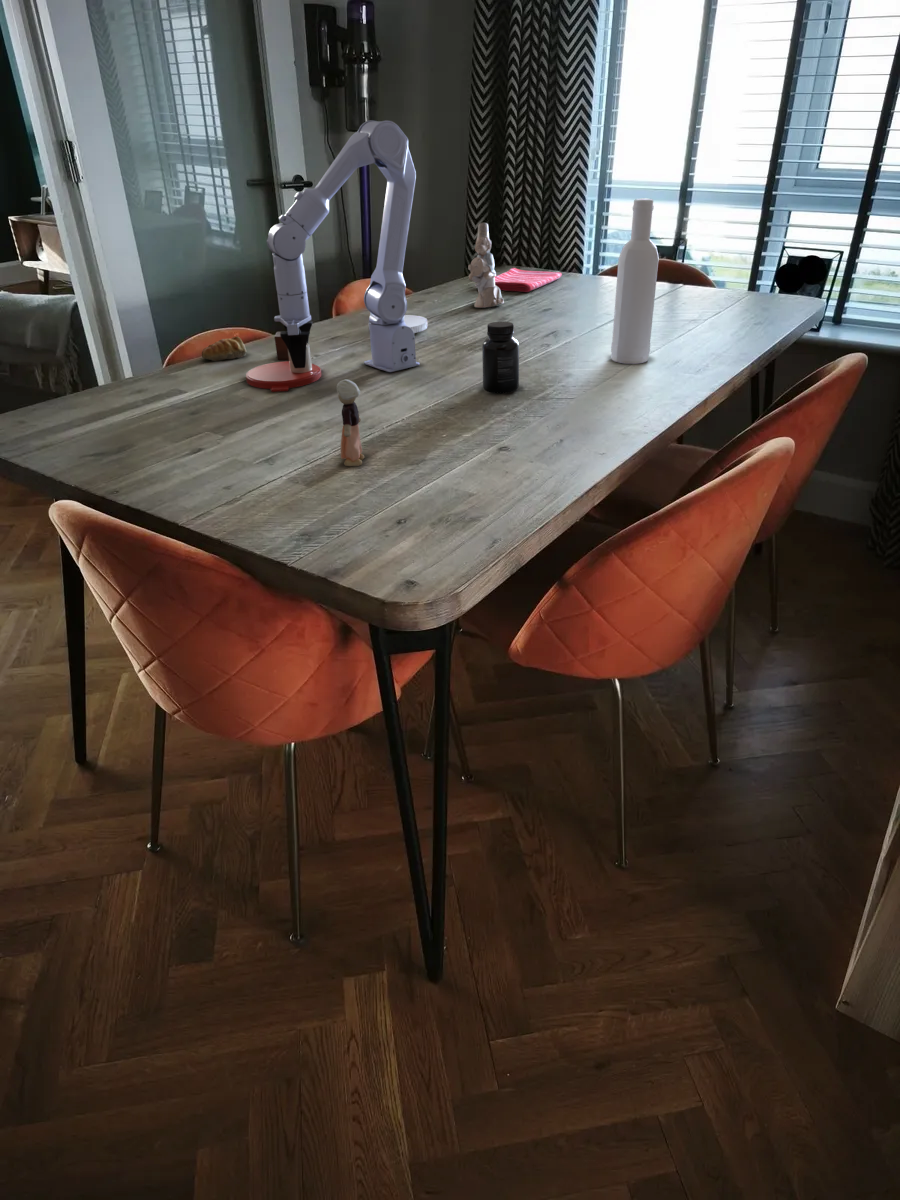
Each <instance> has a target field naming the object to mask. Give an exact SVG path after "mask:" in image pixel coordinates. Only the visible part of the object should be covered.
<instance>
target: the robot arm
mask: <svg viewBox="0 0 900 1200" xmlns="http://www.w3.org/2000/svg"><path fill="white" fill-rule="evenodd" d="M372 164H374V165H376V166H377V169H378V170H379V171H380V172H381V173H382V175H383V177H384V178H385V179H386V190H385V198H384V205H383V206H384V207H383V213H382V219H381V229H380V236H379V244H378V251H377V260H376V267H375V268H374V271H373V272H372V274H371V276H370V282H369V285H368V286H367V288H366V289H365V291H364V295H363V303H364V306H365V308H366V309H367V311H368V312H369V313H370V314H369V317H368V322H369V323H368V329H369V328H370V330H369V340H370V353H371V359H367V360H364V361H363V364H364V365H367V366H370V367H373V368H375V369H378V370H381V371H384V372H387V373H393V372H398V371H402V370H405V369H408V368H409V369H410V368H412V367H417V366H420V362H418V361H417V354H416V352H417V351H416V337H415V333H413V331H412V329H411V328H410V327H408V326H407V325H406V324H405V322H404V315H406V313H407V311H408V301H407V298H406V288H407V285H406V281H405V278H404V275H403V271H404V263H405V257H406V250H407V249H406V248H407V243H408V236H409V230H410V221H411V216H412V215H411V214H412V207H413V201H414V193H415V188H416V179H417V171H416V169H415V165H414V162H413V158H412V155H411V152H410V149H409V138H408V136H407V135H406V134H405V133H404V131H403V130H402V129H401V128H400V126H399V125H398V124H397V123H396V122H394V121H392V120H382V121H380V120H378V121H377V120H373V119H371V120H370V119H369V120H366V121H365V122H363V123H362V124H361V125H360V126H359V128H358V129H357V131H355V132H354V133H353V134H351V136H350V137H349V138H348V140H347V141H346V143H345V144H344V145H343V147H342V149H341V150H340V151H339V153H338V154H337V155H336V157H335V158H334V160H333V161H332V163H331V164H330V165H329V167H328V168H327V169H326V171H325V173H324V174H323V176H322V177H321V179H320V180H319V181H318V183H317V184H316V186H315V187H314V188H313V187H312V188H304V189H303V191H302V192H301V191H297V192H296V193H295V195H294V196H293V197H294V199H295V201H294V202H293V204H292V205H291V206H290V208H289V209H288V210H287V211H286V213H285V214H281V215H280V216H279V217H278V220H279V221H280V222H279V223H276V224H274V225H273V226H272V227H271V228H270V229H269V230H268V234H267V235H268V236H267V239H266V245H267V247H268V249H269V250H270V251H271V252H272V261H273V274H274V280H275V289H276V294H277V295H276V296H277V302H278V303H277V304H278V311H279V315H275V316H274V318H273V320H274V322H280V323H281V324H282V325H283V327H284V329H285V330H280V331H279V332H280V336H281V338H282V340H283V341H284V343H285V344H286V346H287V348H288V351H289V353H290V356H291V360H292V363H293V365H294V368H305V365H306V346H307V343H309V341H310V340H309V339H310V334H311V329H312V326H313V321H312V315H311V313H310V306H309V297H308V296H309V295H308V288H307V279H306V272H305V271H306V269H305V265H304V258H303V254H304V253H305V250H306V245H307V243H306V241H307V240H309V239H310V238H311V236H312V235H313V234H314V233H315V231H316V230H317V229H318V228H319V226H320V225H321V224H322V222H324V220H325V218H326V217H327V216H328V214H329V213H330V200H331V199H332V198H333V197H334V196H335V195H336V193H338V191H339V190H340V189H341V187H342V186H344V184H345V183H346V182H347V181H348V180H349V178H350V177H351V176H352V175H353V174H354V172H355V171H356V170H357V169H358V168H361V167H365V166H368V165H372Z"/></svg>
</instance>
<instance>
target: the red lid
mask: <svg viewBox="0 0 900 1200" xmlns="http://www.w3.org/2000/svg"><path fill="white" fill-rule="evenodd" d="M321 377H322V369H321V368H320V367H319V366H318V365H316V364H314V363H312V370H311V371H309V372H305V373H293V372H291V371H290V364H289V360H284V361H276V362H270V363H264V364H261V365H258V366H254V367H252V368H251V369H249V370H248V371H247V372H246V373H245V381H246V383H247V384H248V386H251V387H254V388H258V389H265V390H270V391H271V393H278V392H289V389H292V388H299V387H303V386H306V385H310V384H312V383H315V382H317V381H318V380H319V379H321Z"/></svg>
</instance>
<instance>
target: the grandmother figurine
mask: <svg viewBox="0 0 900 1200" xmlns="http://www.w3.org/2000/svg"><path fill="white" fill-rule="evenodd" d="M336 392H337V397H338V400H339V402H340V403H341V404H342V409H341V418H342V429H341V436H340V437H341V438H340V450H339V451H340V459H342V460H344V459H345V460H344V463H343V464H344V466H346V467H357V466H358V467H359V466H362V465H363V460H364V459H365V455H364V454H363V447H362V440H361V435H360V425H359V424H360V423H361V422H362V418H361V417H360V413H359V412H360V411H359V408H358V405H357V402H355V401H356V398H359V396H360V394H361V390H360V389H359V387H358V384H356V383H355V382H354V381H352V380H350V379H342V380H340V381H339V382H338V383H337V384H336Z"/></svg>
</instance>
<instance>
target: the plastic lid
mask: <svg viewBox="0 0 900 1200" xmlns="http://www.w3.org/2000/svg"><path fill="white" fill-rule="evenodd" d="M404 322H405V324H406V325H407V326H408V327H410V328H411V329H412V331H413V333H414V334H416V333H417V334H418V333H421V332H423V331H426V330H427V329H428V319H427V318H426V317H424V316H420V315H415V314H405V315H404ZM367 324H369V321H368V323H367ZM368 331H370V328H369V327H368Z"/></svg>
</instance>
